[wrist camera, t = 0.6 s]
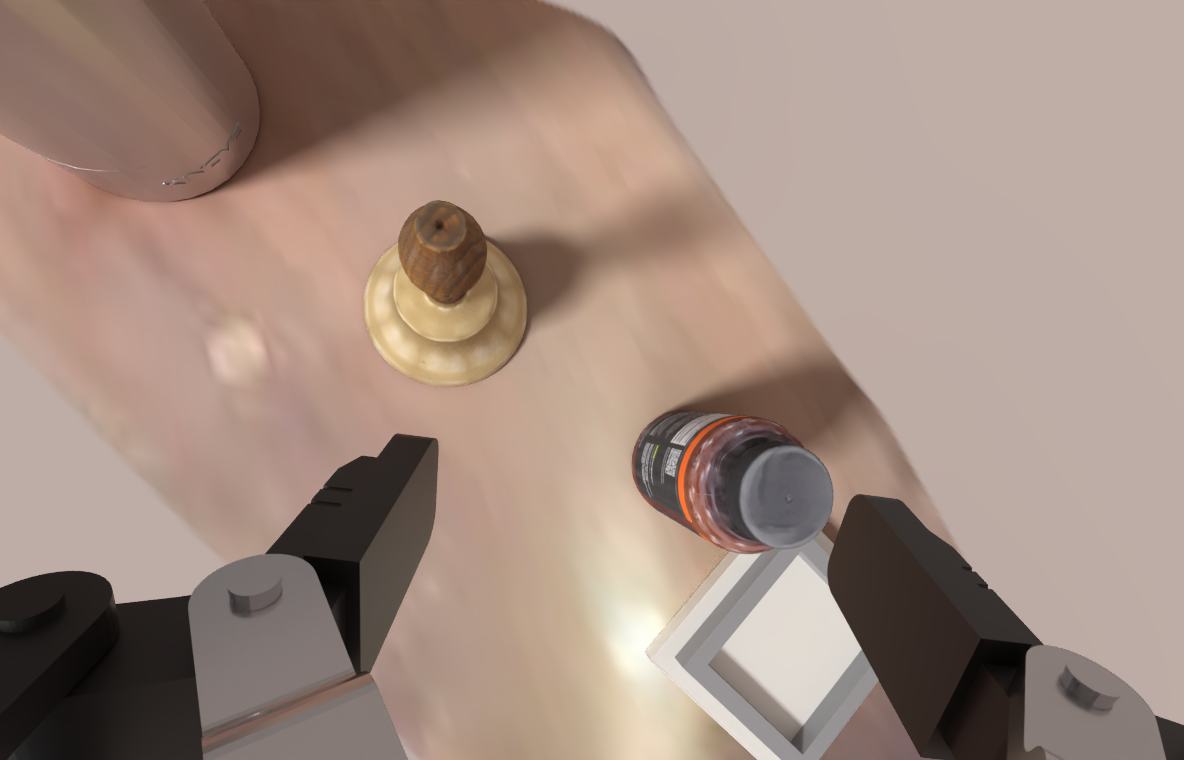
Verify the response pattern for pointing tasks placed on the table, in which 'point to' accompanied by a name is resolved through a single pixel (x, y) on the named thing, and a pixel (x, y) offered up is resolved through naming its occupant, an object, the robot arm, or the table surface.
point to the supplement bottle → (733, 480)
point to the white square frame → (769, 652)
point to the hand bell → (445, 300)
